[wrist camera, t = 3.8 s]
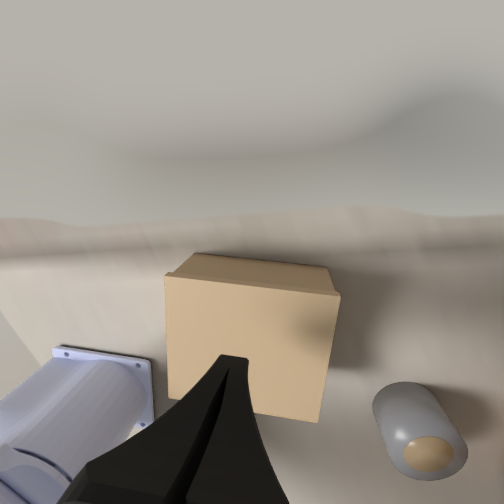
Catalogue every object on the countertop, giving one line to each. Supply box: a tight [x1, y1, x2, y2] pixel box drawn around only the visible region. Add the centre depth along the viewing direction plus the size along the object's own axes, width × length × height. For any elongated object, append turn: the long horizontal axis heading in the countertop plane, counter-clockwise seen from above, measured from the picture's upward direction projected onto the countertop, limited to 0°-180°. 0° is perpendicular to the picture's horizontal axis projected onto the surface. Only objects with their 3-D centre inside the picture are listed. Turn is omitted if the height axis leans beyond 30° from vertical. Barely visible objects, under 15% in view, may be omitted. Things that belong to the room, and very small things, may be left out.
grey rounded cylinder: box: [373, 382, 468, 481], centre depth 21 cm, size 5×5×4 cm
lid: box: [164, 272, 341, 423], centre depth 17 cm, size 10×9×1 cm
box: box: [173, 253, 336, 292], centre depth 20 cm, size 10×9×4 cm
